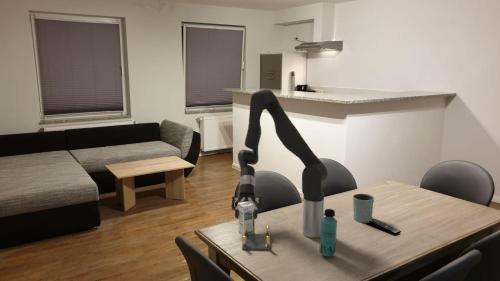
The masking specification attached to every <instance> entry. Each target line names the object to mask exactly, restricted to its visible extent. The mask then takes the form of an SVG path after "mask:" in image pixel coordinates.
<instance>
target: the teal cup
mask: <svg viewBox="0 0 500 281" xmlns="http://www.w3.org/2000/svg"><path fill="white" fill-rule="evenodd" d="M374 201H375V197H374V196H373V195H371V194H367V193H355V194H353V195H352V202H353V203H352V207H353V219H354V221H355V222H357V223H363V224H365V223H366V224H368V223H370V222H369V221H370V220H371V221H372V218H373V209H374Z"/></svg>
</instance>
